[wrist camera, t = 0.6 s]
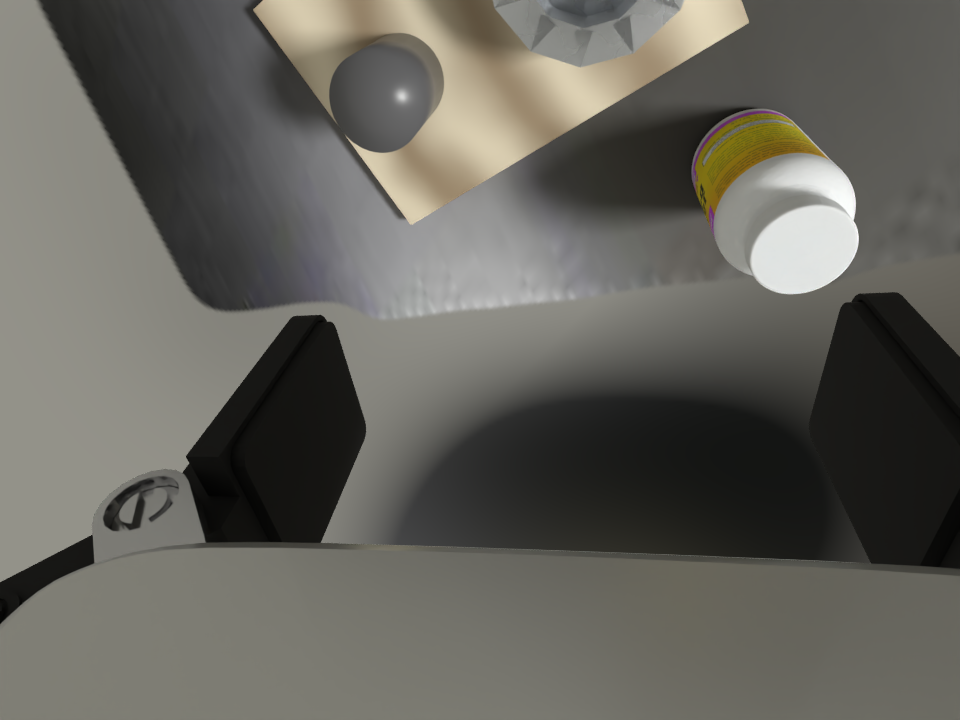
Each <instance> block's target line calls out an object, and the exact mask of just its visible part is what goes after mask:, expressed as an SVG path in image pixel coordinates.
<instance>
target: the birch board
mask: <svg viewBox="0 0 960 720" xmlns="http://www.w3.org/2000/svg"><path fill="white" fill-rule="evenodd" d="M253 11H254V12H255V13H256V15H257V16H258V17H259V19H260V20H261V21H262V23H263V24H264V26H265V27H266V28H267V30H268V31H269V32H270V34H271V35H272V36H273V38H274V39H275V40H276V42H277V43H278V45H279V46H280V47H281V49H282V50H283V51H284V53H285V54H286V55H287V57H288V58H289V60H290V61H291V62H292V64H293V65H294V66H295V68H296V69H297V70H298V72H299V73H300V75H301V76H302V77H303V79H304V80H305V81H306V83H307V84H308V85H309V87H310V88H311V90H312V91H313V92H314V94H315V95H316V96H317V98H318V99H319V100H320V102H321V103H322V105H323V106H324V107H325V109H326V110H327V111H328V113H329V114H330V115H331V117H332V118H333V119H334V116H333V113H332V110H331V106H330V100H329V89H330V83H331V79H332V76H333V74H334V72H335V70H336V68H337V67H338V66H339V64H340V63H341V62H342V61H343V60H345V59H346V58H347V57H349V56H351V55H352V54H354V53H356V52H357V51H359V50H361V49H363V48H364V47H366V46H368V45H369V44H371V43H373V42H375V41H376V40H378V39H380V38H382V37H383V36H386V35H388V34H392V33H406V34H410V35H413V36H415V37H417V38H419V39H421V40H422V41H423V42H425V43H426V44H427V45H428V46H429V47H430V48H431V49H432V50H433V52H434V53H435V55H436V56H437V58H438V60H439V62H440V64H441V67H442V71H443V76H444V90H443V95H442V99H441V101H440V103H439V105H438V107H437V108H436V110H435V111H434V112H433V114H432V115H431V116H430V117H429V119H428V120H427V121H426V122H425V124H424V125H423V126H422V127H421V129H420V130H419V131H418V132H417V134H416V135H415V136H414V138H413V139H412V140H411V141H410V142H409V143H408V144H407V145H405V146H404V147H403V148H401V149H399V150H396V151H393V152H388V153H377V152H372V151H368V150H366V149H363V148H361V147H360V146H358V145H356V144H355V143H353V142H352V141H351V140H350V139H349V138H348V137H347V136H346V135H345V136H346V137H347V139H348V140H349V141H350V143H351V144H352V145H353V147H354V148H355V149H356V151H357V152H358V154H359V155H360V156H361V158H362V159H363V160H364V162H365V163H366V164H367V166H368V167H369V169H370V170H371V171H372V173H373V174H374V175H375V177H376V178H377V179H378V181H379V182H380V184H381V185H382V186H383V188H384V189H385V190H386V192H387V193H388V194H389V196H390V197H391V198H392V200H393V201H394V203H395V204H396V205H397V207H398V208H399V209H400V211H401V212H402V213H403V215H404V216H405V218H406V219H407V220H408V222H409V223H410V224H411V225H412V224H414V223H415V222H417V221H419V220H420V219H422V218H424V217H425V216H427V215H429V214H430V213H432V212H434V211H435V210H437V209H439V208H440V207H442V206H444V205H445V204H447V203H449V202H450V201H452V200H454V199H455V198H457V197H459V196H460V195H462V194H464V193H465V192H467V191H469V190H470V189H472V188H474V187H475V186H477V185H479V184H480V183H482V182H484V181H485V180H487V179H489V178H490V177H492V176H494V175H495V174H497V173H499V172H500V171H502V170H504V169H505V168H507V167H509V166H510V165H512V164H514V163H515V162H517V161H519V160H520V159H522V158H524V157H525V156H527V155H529V154H531V153H532V152H534V151H536V150H537V149H539V148H541V147H542V146H544V145H546V144H547V143H549V142H551V141H552V140H554V139H556V138H557V137H559V136H561V135H562V134H564V133H566V132H567V131H569V130H571V129H572V128H574V127H576V126H577V125H579V124H581V123H582V122H584V121H586V120H587V119H589V118H591V117H592V116H594V115H596V114H597V113H599V112H601V111H602V110H604V109H606V108H607V107H609V106H611V105H612V104H614V103H616V102H617V101H619V100H621V99H622V98H624V97H626V96H627V95H629V94H631V93H632V92H634V91H636V90H637V89H639V88H641V87H642V86H644V85H646V84H647V83H649V82H651V81H652V80H654V79H656V78H657V77H659V76H661V75H662V74H664V73H666V72H667V71H669V70H671V69H672V68H674V67H676V66H677V65H679V64H681V63H682V62H684V61H686V60H687V59H689V58H691V57H692V56H694V55H696V54H697V53H699V52H701V51H702V50H704V49H706V48H707V47H709V46H711V45H712V44H714V43H716V42H717V41H719V40H721V39H723V38H724V37H726V36H728V35H729V34H731V33H733V32H734V31H736V30H738V29H739V28H741V27H743V26H744V25H746V24H748V23H749V21H748V18H747V15H746V12H745V9H744V6H743V3H742V1H741V0H684V2H683V5H682V7H681V10H680V11H679V12H678V13H677V14H675V15H674V16H673V17H672V18H671V19H670V20H669V21H668V22H667V23H666V24H665V25H664V26H663V27H662V28H660V29H659V30H658V31H657V32H656V33H655V34H654V35H653V36H652V37H651V38H650V39H649V40H648V41H647V42H645V43H644V44H643V45H642V46H641V47H640V48H639V49H638V50H637V51H636V52H635V53H634V54H630V55H626V56H622V57H618V58H615V59H611V60H607V61H603V62H599V63H596V64H592V65H588V66H584V67H581V68H580V67H577V66H574V65H571V64H568V63H565V62H562V61H558V60H555V59H552V58H549V57H546V56H543V55H540V54H537V53H534V52H531V51H530V50H529V49H528V48H527V46H526V45H525V44H524V43H523V42H522V40H521V39H520V38H519V37H518V36H517V35H516V33H515V32H514V31H513V30H512V29H511V27H510V26H509V25H508V24H507V23H506V21H505V20H504V19H503V18H502V17H501V15H500V14H499V13H498V12H497V11H496V9H495V8H494V4H493V0H263V1H262V2H261V3H260V4H259V5H258V6H257V7H255V8H254V9H253ZM334 121H335V119H334ZM335 122H336V121H335ZM336 124H337V123H336ZM337 125H338V124H337Z"/></svg>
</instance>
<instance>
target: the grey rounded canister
mask: <svg viewBox="0 0 960 720" xmlns="http://www.w3.org/2000/svg"><path fill="white" fill-rule="evenodd" d="M443 90H444V76H443V71H442V67H441V64H440V62H439V60H438V58H437V56H436V55H435V53H434V52H433V50H432V49H431V48H430V47H429V46H428V45H427V44H426V43H425V42H423V41H422V40H421V39H419V38H417V37H415V36H413V35H410V34H406V33H392V34H388V35H386V36H383V37H382V38H380V39H378V40H376V41H375V42H373V43H371V44H369V45H368V46H366V47H364V48H363V49H361V50H359V51H357V52H356V53H354V54H352V55H351V56H349V57H347V58H346V59H345V60H343V61H342V62H341V63H340V64H339V66H338V67H337V68H336V70H335V72H334V74H333V76H332V79H331V83H330V89H329V100H330V106H331V110H332V113H333V116H334V119H335V121H336V123H337V124H338V126H339V128H340V129H341V130H342V132H343V133H344V134H345V135H346V136H347V137H348V138H349V139H350V140H351V141H352V142H353V143H355V144H356V145H358V146H360V147H361V148H363V149H366V150H368V151H372V152H377V153H388V152H393V151H396V150H399V149H401V148H403V147H404V146H405V145H407V144H408V143H409V142H410V141H411V140H412V139H413V138H414V136H415V135H416V134H417V132H418V131H419V130H420V129H421V127H422V126H423V125H424V124H425V122H426V121H427V120H428V119H429V117H430V116H431V115H432V114H433V112H434V111H435V110H436V108H437V107H438V105H439V103H440V101H441V99H442V95H443Z"/></svg>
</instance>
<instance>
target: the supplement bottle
mask: <svg viewBox="0 0 960 720" xmlns="http://www.w3.org/2000/svg"><path fill="white" fill-rule="evenodd" d="M691 174H692V181H693V185H694V188H695V191H696V194H697V196H698V199H699V201H700V204H701V206H702V209H703V211H704V213H705V216H706V218H707V221H708V223H709V225H710V228H711V230H712V233H713V235H714V238H715V240H716V243H717V245H718V247H719V250H720V251H721V253H722V255H723V256H724V258H725V259H726V260H727V261H728V262H729V263H730V264H731V265H732V266H734V267H735V268H737V269H738V270H740V271H742V272H744V273H746V274H749V275H752V276H754V278H755V279H756V280H757V281H758V282H759V283H760V284H761V285H762V286H764V287H766V288H767V289H769V290H772V291H775V292H778V293H783V294H799V293H805V292H809V291H813V290H816V289H818V288H821V287H823V286H825V285H827V284H828V283H830V282H831V281H833V280H834V279H836V278H837V277H838V276H839V275H841V274H842V273H843V272H844V271H845V270H846V268H847V267H848V266H849V265H850V263H851V261H852V260H853V258H854V256H855V253H856V251H857V247H858V240H859V237H858V230H857V227H856V224H855V223H854V221H853V220H854V215H855V208H856V200H855V194H854V190H853V187H852V185H851V183H850V181H849V179H848V178H847V176H846V175H845V174H844V172H843V171H842V170H841V169H840V168H839V167H838V166H837V165H836V164H835V163H834V162H832V161H831V160H830V159H829V158H828V157H827V156H826V155H825V154H824V153H823V152H822V151H821V150H820V149H819V148H818V146H817V145H816V144H815V143H814V142H813V141H812V140H811V139H810V138H809V137H808V136H807V135H806V134H805V133H804V132H803V131H802V130H801V129H800V128H799V127H798V126H797V125H796V124H795V123H794V122H793V121H792V120H791V119H789V118H788V117H787V116H785V115H783V114H781V113H779V112H777V111H773V110H769V109H750V110H744V111H741V112H738V113H735V114H733V115H731V116H729V117H727V118H725V119H723V120H722V121H720V122H719V123H718V124H716V125H715V126H714V127H713V128H712V129H711V130H710V131H709V132H708V133H707V134H706V135H705V137H704V138H703V139H702V141H701V143H700V144H699V146H698V148H697V150H696V152H695V155H694V158H693V162H692V173H691Z"/></svg>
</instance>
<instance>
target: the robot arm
mask: <svg viewBox="0 0 960 720" xmlns="http://www.w3.org/2000/svg"><path fill="white" fill-rule="evenodd" d="M809 430H810V436H811V439H812V442H813V444H814V446H815V448H816V450H817V452H818V454H819V456H820V458H821V461H822V462H823V465H824V467H825V469H826V471H827V473H828V475H829V477H830V479H831V481H832V483H833V485H834V487H835V489H836V491H837V494H838V495H839V497H840V500H841V502H842V504H843V506H844V508H845V510H846V512H847V514H848V516H849V519H850V521H851V522H852V524H853V527H854V529H855V531H856V533H857V535H858V537H859V539H860V541H861V543H862V545H863V547H864V549H865V552H866V553H867V556H868V558H869V560H870V562H871V564H869V563H850V562H831V561H809V560H786V559H761V558H737V557H712V556H688V555H663V554H637V553H636V554H635V553H611V552H583V551H555V550H526V549H498V548H470V547H438V546H435V547H434V546H403V545H372V544H338V543H321V541H322V538H323V536H324V533H325V531H326V529H327V526H328V524H329V522H330V519H331V517H332V514H333V512H334V510H335V508H336V505H337V503H338V500H339V498H340V496H341V493H342V491H343V489H344V486H345V484H346V482H347V479H348V477H349V475H350V472H351V470H352V467H353V465H354V462H355V460H356V458H357V455H358V453H359V451H360V448H361V446H362V444H363V442H364V439H365V434H366V424H365V420H364V417H363V413H362V410H361V407H360V404H359V400H358V397H357V394H356V391H355V388H354V385H353V381H352V378H351V375H350V372H349V369H348V365H347V362H346V359H345V356H344V353H343V350H342V346H341V343H340V340H339V337H338V333H337V330H336V328H335V325H334V324H333V323H332V322H327V321H326V319H325V318H324V317H323V316H322V315H309V316H294V317H292V318H291V319H290V320H289V322H288V323H287V324H286V325H285V327H284V328H283V329H282V330H281V332H280V333H279V335H278V336H277V337H276V339H275V340H274V341H273V342H272V344H271V345H270V346H269V348H268V349H267V350H266V352H265V353H264V354H263V356H262V357H261V358H260V360H259V361H258V362H257V363H256V365H255V366H254V367H253V369H252V370H251V371H250V373H249V374H248V375H247V377H246V378H245V379H244V380H243V382H242V383H241V385H240V386H239V387H238V388H237V390H236V391H235V392H234V394H233V395H232V396H231V398H230V399H229V400H228V402H227V403H226V404H225V405H224V407H223V408H222V410H221V411H220V412H219V413H218V415H217V416H216V417H215V419H214V420H213V421H212V423H211V424H210V425H209V427H208V428H207V429H206V430H205V432H204V433H203V434H202V436H201V437H200V438H199V440H198V441H197V442H196V444H195V445H194V446H193V448H192V449H191V450H190V452H189V453H188V454H187V456H186V458H187V459H188V461H189V465H188V466H187V467H186V469H185V470H184V471H183V473H181V472H179V471H177V470H168V469H163V470H157V471H151V472H148V473H145V474H142V475H139V476H137V477H135V478H133V479H131V480H130V481H128V482H126V483H124V484H122V485H121V486H120V487H118V488H117V489H116V490H114V491H113V492H112V493H110V494H109V495H108V497H107V498H106V499H105V500H104V501H103V502H102V503H101V504H100V506H99V507H98V509H97V511H96V512H95V514H94V518H93V523H92V531H93V535H91V536H89V537H87V538H85V539H83V540H81V541H79V542H78V543H76V544H74V545H72V546H70V547H68V548H66V549H64V550H62V551H60V552H58V553H56V554H54V555H52V556H51V557H48V558H47V559H45V560H43V561H41V562H39V563H37V564H35V565H33V566H31V567H29V568H27V569H25V570H24V571H21V572H19V573H17V574H16V575H14V576H12V577H10V578H8V579H6V580H4V581H2V582H0V720H960V357H959V356H958V355H957V354H956V352H955V351H954V350H953V349H952V348H951V347H950V346H949V345H948V344H947V343H946V342H945V341H944V340H943V339H942V338H941V337H940V335H938V334H937V332H936V331H935V330H934V329H933V328H932V327H931V326H930V325H929V324H928V323H927V322H926V321H925V320H924V319H923V317H921V315H920V314H919V313H918V312H917V311H916V310H915V309H914V308H913V307H912V306H911V305H910V304H909V303H908V302H907V300H906V299H905V298H904V297H903V296H902V295H900V294H899V293H895V292H892V293H866V294H858V295H856V296H855V297H854V299H853V300H852V302H850V303H844V304H843V305H842V307H841V309H840V312H839V315H838V319H837V323H836V326H835V330H834V333H833V337H832V341H831V344H830V348H829V352H828V355H827V359H826V363H825V366H824V370H823V374H822V377H821V381H820V385H819V388H818V392H817V395H816V399H815V403H814V406H813V410H812V414H811V418H810V424H809Z"/></svg>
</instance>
